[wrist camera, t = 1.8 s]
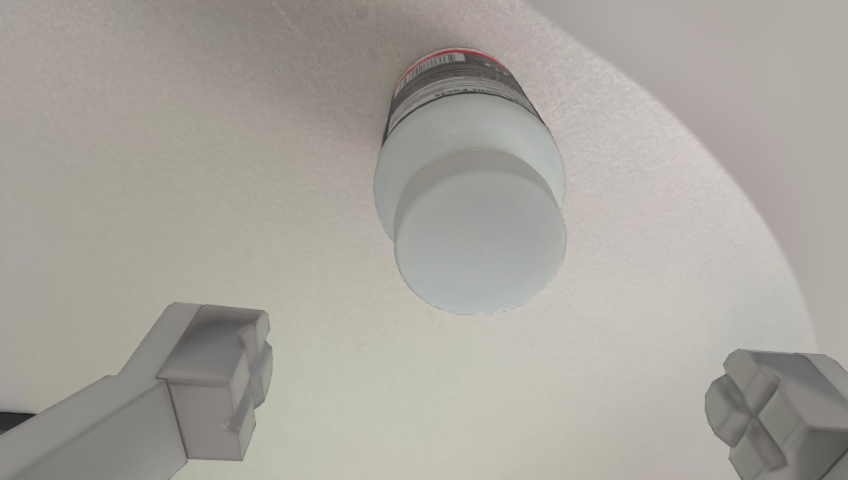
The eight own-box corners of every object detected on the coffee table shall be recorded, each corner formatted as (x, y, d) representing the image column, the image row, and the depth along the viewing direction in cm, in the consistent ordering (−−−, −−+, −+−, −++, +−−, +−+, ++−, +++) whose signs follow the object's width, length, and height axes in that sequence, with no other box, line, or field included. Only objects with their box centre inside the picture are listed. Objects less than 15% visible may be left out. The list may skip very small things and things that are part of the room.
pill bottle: (505, 184, 21) (557, 349, 13) (382, 168, 20) (352, 327, 12) (539, 55, 18) (636, 158, 10) (396, 33, 18) (370, 121, 9)
